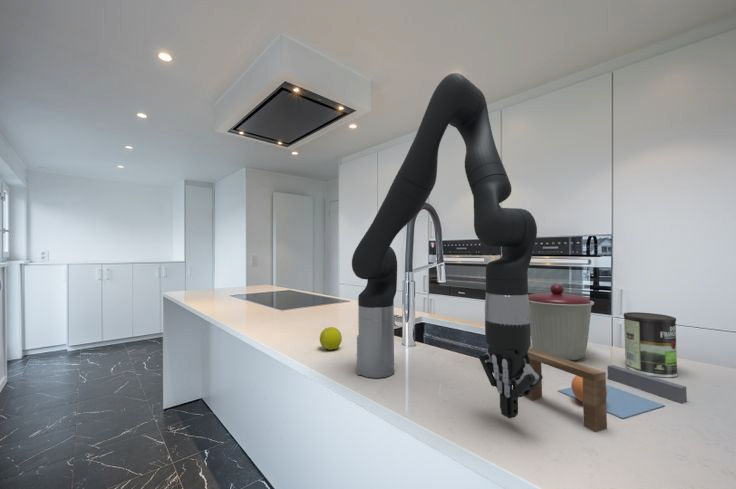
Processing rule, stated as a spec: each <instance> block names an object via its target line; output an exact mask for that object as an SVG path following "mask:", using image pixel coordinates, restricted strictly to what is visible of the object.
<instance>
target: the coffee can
mask: <svg viewBox="0 0 736 489" xmlns="http://www.w3.org/2000/svg"><path fill="white" fill-rule="evenodd" d="M623 322H624V323H623V324H624V347H625V348H624V349H625V350H624V354H625V365H624V366H625V369H628V370H632V371H635V372H638V373H642V374H645V375H648V376H652V377H655V378H665V379H667V378H669V379H670V378H671V379H673V378H676V377H678V363H677V362H678V360H677V359H678V357H677V356H678V355H677V353H678V352H677V325H676V322H677V318H676V317H674V316H671V315H666V314H660V313H659V314H658V313H650V312H641V311H640V312H637V311H635V312H633V311H632V312H630V311H629V312H624V313H623Z"/></svg>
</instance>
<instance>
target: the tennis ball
mask: <svg viewBox="0 0 736 489" xmlns="http://www.w3.org/2000/svg"><path fill="white" fill-rule="evenodd" d="M342 337H343V336H342V334H341V331H340V330H339V329H338V328H336V327H333V326H331V327H330V326H329V327H326V328H324V329H323V330H322V331H321V332H320V336H319V342H320V345H321V346H322V348H324V349H325V350H327V349H328V351H333V349H334V350H336V349H337V348H339V347H340V345H341V344H342V340H343V338H342Z"/></svg>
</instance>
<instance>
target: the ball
mask: <svg viewBox="0 0 736 489" xmlns="http://www.w3.org/2000/svg"><path fill="white" fill-rule="evenodd" d="M571 387H572V391H573V393H574V395H575V396H576V397H577V398H578V399H579V400H580V401H579V400H578V401H579V402H581V403H583V378H582V377H580V376H577V375H574V377H573V378H572V381H571ZM606 397H607V388H606Z"/></svg>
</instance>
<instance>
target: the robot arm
mask: <svg viewBox="0 0 736 489" xmlns="http://www.w3.org/2000/svg"><path fill="white" fill-rule="evenodd" d="M449 125H450V126H451V127H453V128H455V129H456V130H457V131H458V133H459V134H460V136H461V138H462V140H463V142H464V145H465V157H464V158H465V159H464V172H465V175H466V178H467V182H468V185H469V187H470V191H471V194H472V196H473V197H472V198H473V228H474V233H475V236H476V238H478V240H479V241H480V243H482V244H483V245H485V246H487V247H490V248H492V247H494V248H498V247H501V248H502V247H504V248H503V250H502V254H501V256H500V258H498V259H494V260H492V261H490V262H488V263H487V264H486V266H485V300H484V330H485V331H484V333H485V334H484V339H485V343H486V344H487V345H488V347H487V351H486V353H484V354H480V355H478V358H479V361H480V364H481V367H482V368H483V370H484V372H485V374H486V376H487V379H488V381H489V384H490V386H492V387H495V388H496V390H497V393H498V394H499V409H500V414H501V415H503V417H505V418H507V419H510V420H511V419H514V418H516V417H517V416H518V414H519V398H525V397H524V396H528V394H529V393H530V392H531V391H532V390H533V389H534V388H535V387H536V386H537V384H538V383H539V382H540V381H541V380H542V381H543V379H544V378H543V377H544V376H543V374H541V373H540V372H537V373H535V371H534V370H533V369H532V367H531V366H530V358H529V356H528V350H529V349H530V347H531V344H532V340H531V330H530V304H529V298H528V295H529V281H528V280H529V279H528V278H529V275H528V274H529V273H528V272H529V267H530V264H531V260H532V256H533V253H534V249H535V245H536V242H537V234H538V225H537V221H536V220H535V217H534V216H533V215H532V213H531V212H530V211H529V210H527V209H523V208H519V207H518V208H514V207H513V208H512V207H501V203H503V202H504V201H507V199H508V198H509V197H510V196H511V195H512V184H511V181H510V179H509V176H508V174H507V171H506V168H505V166H504V164H503V161H502V159H501V157H500V154H499V151H498V148H497V146H496V143H495V139H494V136H493V132H492V130H493V129H492V127H491V122H490V117H489V110H488V104H487V101H486V97H485V95H484V93H483V91H482V90H481V89H480V88H478V87H477V86H476V85H475V84H474V83H473V82H471V81H470V80H469V79H468V78H466V77H465V75H463V74H461V73H459V72H452V73H449V74H447V75H446V76H445V77H444V78H443V79H441V81H440V82H439V83H438V85H437V86H436V88H435V90H434V91H433V93H432V95H431V97H430V100H429V102H428V104H427V106H426V109H425V112H424V115H423V117H422V119H421V122H420V125H419V126H418V129H417V133H416V135H415V136H414V139H413V142H412V143H411V145H410V148H409V150H408V152H407V154H406V155H405V158H404V160H403V162H402V165H401V166H400V167H399V170H398V172H397V173H396V175H395V177H394V179H393V181H392V183H391V185H390V187H389V189H388V192H387V194H386V196H385V198H384V200H383V201H382V204H381V206H380V208H379V209H378V211H377V213H376V215H375V216H374V219H373V221H372V223H371V224H370V226H369V227H368V229H367V231H366V232H365V234H364V235H363V237H362V238H361V239H360V240H359V243H358V244H357V245H356V248H355V250H354V252H353V254H352V258H351V268H352V271H353V274H354V275H355V277H357V278H359V279H362V280H367V282H366V286H365V288H364V289H363V290H362V291H361V292H360V293H359V294H358V298H357V299H358V300H357V302H358V303H357V306H358V310H357V311H358V316H357V317H358V318H357V320H358V321H357V322H358V335H356V336H357V337H356V375H358V376H363V377H367V378H373V379H378V378H380V379H383V378H387V377H390V376H392V375H393V374H394V373H395V322H394V321H395V320H394V319H395V315H394V314H395V310H394V308H395V307H394V300H395V296H396V295H397V287H398V286H397V284H398V259H397V255H396V252H395V250H394V249H393V248H392V247H391V244H392V243H393V241H394V240H395V238H396V237H397V235H398V234H399V233H400V231H401V230H402V229H403V228H404V227H406V226H407V225H408V224H409V223H410V222H412V220H413V219H414V218H415V217H416V216H417V215H418V214H419V212H421V210H422V208H423V207H424V205H425V204H426V202H427V200H428V199H429V197H430V195H431V192H432V191H433V189H434V187H435V185H436V182H437V174H438V160H439V158H438V157H439V148H440V144H441V142H442V139H443V137H444V135H445V132H446V130H447V128H448V126H449Z"/></svg>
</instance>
